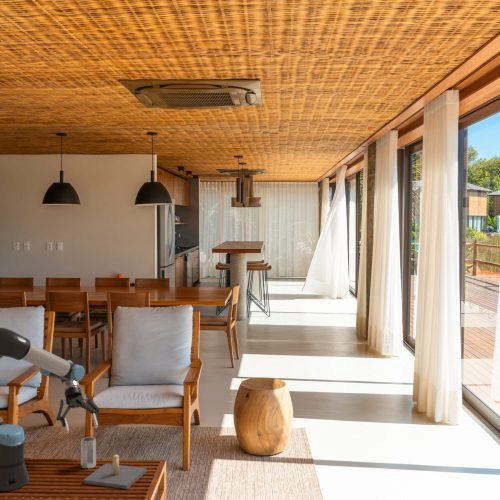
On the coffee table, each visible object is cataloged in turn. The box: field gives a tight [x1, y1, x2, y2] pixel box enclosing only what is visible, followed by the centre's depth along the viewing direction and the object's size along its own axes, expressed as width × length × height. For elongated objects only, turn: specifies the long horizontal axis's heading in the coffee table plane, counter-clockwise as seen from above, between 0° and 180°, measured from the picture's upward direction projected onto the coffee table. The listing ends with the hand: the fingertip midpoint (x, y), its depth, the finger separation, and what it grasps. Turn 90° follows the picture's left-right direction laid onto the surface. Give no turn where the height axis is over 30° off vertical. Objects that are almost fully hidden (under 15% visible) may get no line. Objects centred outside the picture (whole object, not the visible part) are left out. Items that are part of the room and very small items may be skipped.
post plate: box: [83, 454, 148, 490], centre depth 242 cm, size 20×18×10 cm
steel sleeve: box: [80, 436, 97, 469], centre depth 254 cm, size 6×6×12 cm
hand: (82, 429), depth 262 cm, fingers open, 13 cm apart
